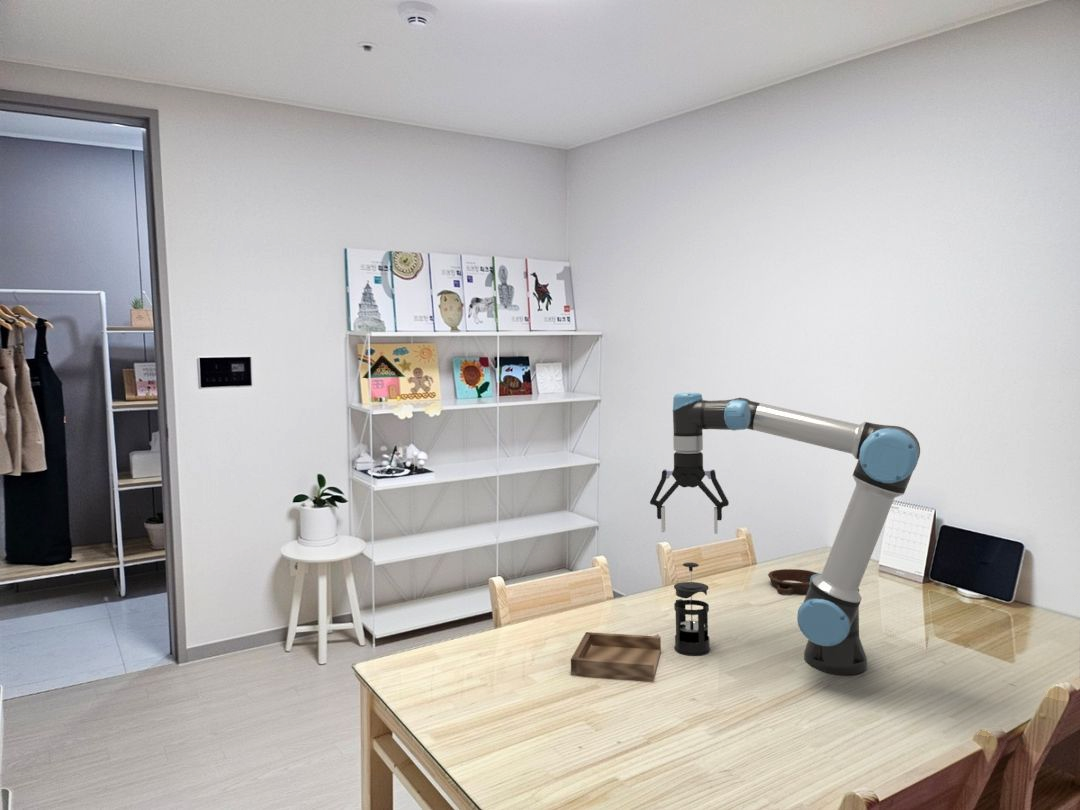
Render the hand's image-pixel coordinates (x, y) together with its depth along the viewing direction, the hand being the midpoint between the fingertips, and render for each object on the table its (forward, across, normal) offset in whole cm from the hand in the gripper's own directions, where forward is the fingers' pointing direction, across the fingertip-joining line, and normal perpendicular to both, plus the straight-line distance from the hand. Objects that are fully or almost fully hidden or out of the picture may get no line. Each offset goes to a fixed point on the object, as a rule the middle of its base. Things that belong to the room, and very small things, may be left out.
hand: (689, 532), depth 198 cm
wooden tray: (+31, +18, +13) cm, 38 cm away
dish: (+32, -31, -62) cm, 76 cm away
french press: (+31, 0, 0) cm, 32 cm away
